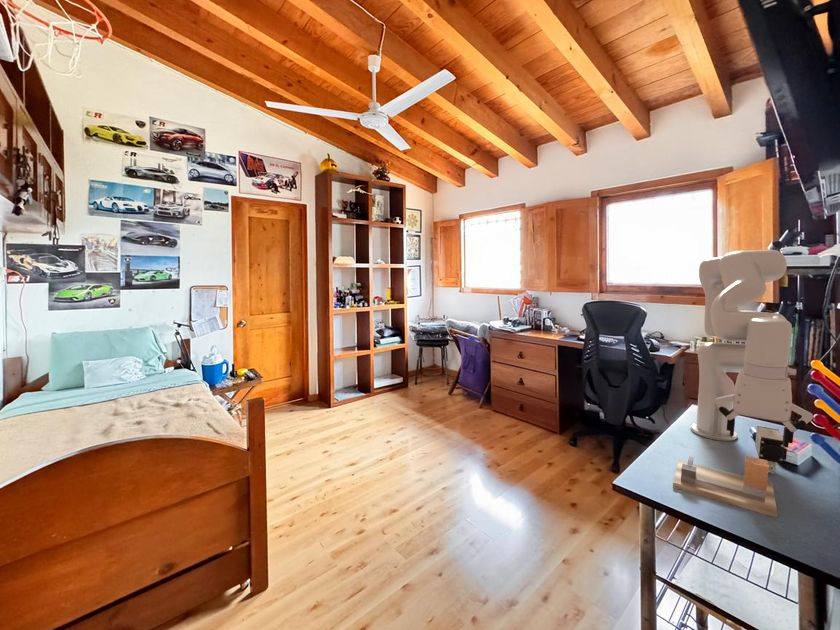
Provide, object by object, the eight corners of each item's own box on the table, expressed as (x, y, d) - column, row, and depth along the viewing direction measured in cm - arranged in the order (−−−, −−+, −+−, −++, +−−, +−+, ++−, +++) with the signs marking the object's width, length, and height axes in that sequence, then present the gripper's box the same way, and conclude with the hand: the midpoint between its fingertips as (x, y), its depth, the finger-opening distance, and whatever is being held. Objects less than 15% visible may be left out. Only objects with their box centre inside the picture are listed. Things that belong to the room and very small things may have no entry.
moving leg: (742, 480, 98) (744, 447, 97) (762, 485, 96) (765, 452, 94) (742, 497, 91) (745, 462, 90) (765, 503, 89) (768, 467, 88)
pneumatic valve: (758, 477, 103) (761, 435, 101) (753, 458, 112) (756, 420, 110) (786, 483, 99) (790, 440, 98) (778, 464, 109) (782, 424, 107)
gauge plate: (678, 464, 110) (679, 448, 109) (771, 489, 97) (773, 470, 97) (672, 487, 99) (673, 469, 99) (776, 517, 87) (778, 497, 86)
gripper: (815, 372, 85) (806, 442, 88) (717, 361, 96) (712, 424, 99) (821, 382, 79) (811, 457, 82) (716, 369, 90) (711, 435, 93)
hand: (757, 439), depth 90 cm, fingers open, 9 cm apart
